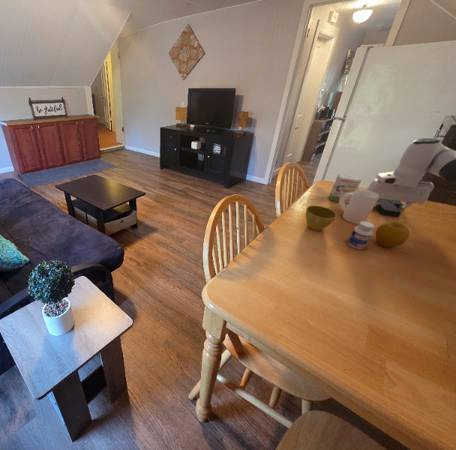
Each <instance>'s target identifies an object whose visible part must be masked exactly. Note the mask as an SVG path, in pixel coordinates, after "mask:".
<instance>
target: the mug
mask: <svg viewBox="0 0 456 450" xmlns="http://www.w3.org/2000/svg"><path fill="white" fill-rule="evenodd" d="M349 197H351V199H350V202H349V203H347V206H346V203H345V200H346V199H347V198H349ZM378 198H379V195H378V194H376V193H374V192H372V191H368V190H367V189H363V188H362V189H361V188H360V189H358V188H357V190H355V191H354V193H347V194H345V195H343V196H342V197H341V198H340V200H339V201H338V206H339V207H340V209H341V210H342V211H343V214H342V218H343V219H344V220H345V221H347V222H350V223H353V224H356V225H357V224H358V225H359V223H360V222H362V221H364V222H367V220H368V218H369V216H370V214H371V213H372V210H373V209H374V208H375V207H374V205H375V203H376V201H377V199H378Z"/></svg>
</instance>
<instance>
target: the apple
mask: <svg viewBox="0 0 456 450" xmlns="http://www.w3.org/2000/svg"><path fill="white" fill-rule="evenodd" d="M410 234H411V233H410V230H409V228H408V227H407V226H406V225H404V224H402V223H400V222H396V221H386V222H384V223H382V224H380V225H379V226H378V227H377V229H376V231H375V240H376V242H377V243H378V245H379V246H381V247H384V248H395V247H397V246H400V245H403V244H404V243H405V242H407V240H408V239H409V237H410Z"/></svg>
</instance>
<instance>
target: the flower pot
mask: <svg viewBox="0 0 456 450" xmlns="http://www.w3.org/2000/svg"><path fill="white" fill-rule="evenodd" d="M306 207H307V208H306V210H305V211H306V212H305V219H306V220H305V221H306V225H307V227H308V228H309V229H311V230H313V231H322V230H324V229H325V228H327V227H329V226H330V225H331V224H332V223H333V222H334V220H335V219H336V218H337V216H338V215H337V213H336V212H335V211H334V210H333V209H330V208H328V207H325V206H320V205H309V206H306Z"/></svg>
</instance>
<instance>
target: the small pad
mask: <svg viewBox="0 0 456 450" xmlns="http://www.w3.org/2000/svg"><path fill="white" fill-rule="evenodd" d="M377 202H378V203H379V206H378V207H375V208H376V210H377V211H378V213H380V215H382V216H388V217H394V218H399V217H400V215H401V214H402V211H400V210H399V209H398V208H397V207H396V206H395V205H394V204H393V203H390V202H389V201H388V200H382V199H379V200H377Z"/></svg>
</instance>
